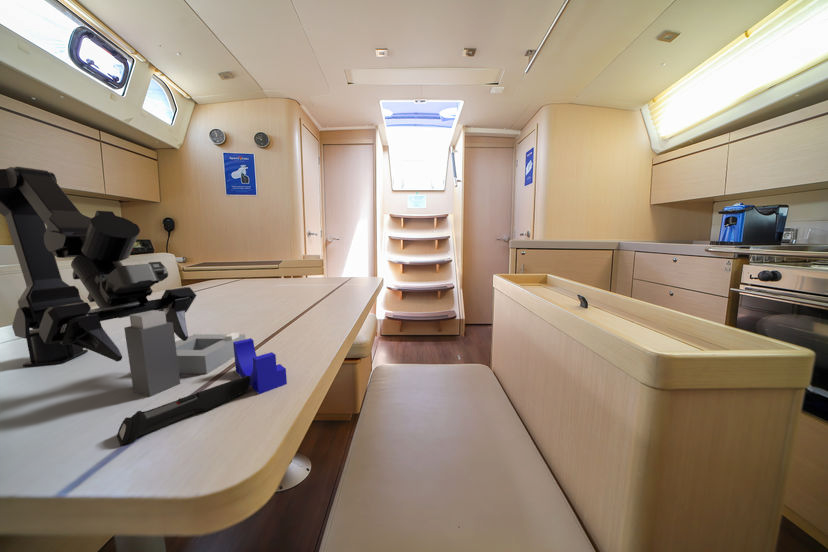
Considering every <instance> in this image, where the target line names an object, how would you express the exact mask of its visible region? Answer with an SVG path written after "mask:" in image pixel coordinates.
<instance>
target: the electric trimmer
mask: <svg viewBox="0 0 828 552" xmlns="http://www.w3.org/2000/svg"><path fill="white" fill-rule="evenodd" d="M249 384H250V376H244V377H241V376H240V377H238V378H235V379H233V380H230V381H227V382H224V383H222V384H219V385H215V386H212V387H209V388H206V389H204V390H203V389H202V390H200V391H198V392H196V393H192V394H190V395H187V396H185V397H181V398H178V399H177V400H174V401H171V402H168V403H166V404H163V405H159V406H158V407H154V408H151V409H148V410H144V411H142V410H137V411H136V412H135V414H133V415H131V417H127V416H126V417H125V418H124V419H123V421H122V422H121V425H120V426H119V428H118V431H117V433H116V437H117V438H116V439H117V440H118V443H119V445H120V446H121V447H122V446H124V445H131V444H133V443H134V442H135V441H136V440H137V439H138V438H139V437H141V436H144V435H146V434H148V433H150V432H153V431H155V430H158V429H160V428H163V427H165V426H167V425H169V424H172V423H175V422H177V421H180V420H182V419H184V418H186V417H190V416H191V415H194V414H196V413H201V412H202V413H203V412H204V413H205V412H208V411H210V410H211V409H214V408H216V407H217V406H220V405H222V404H224V403H226V402H228V401H230V400H232V399H234V398H236V397H237V396H240V395H241V394H244V393H245V392H247V391H248V390H249V388H250V385H249Z"/></svg>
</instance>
